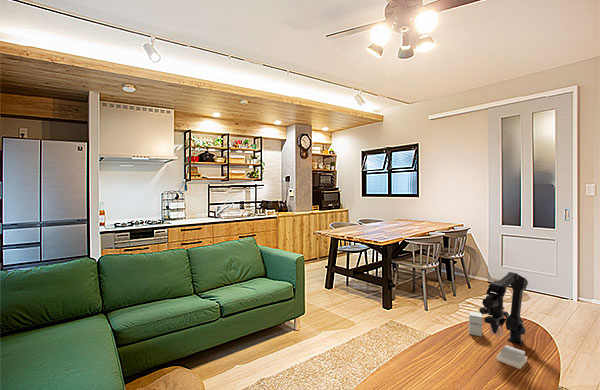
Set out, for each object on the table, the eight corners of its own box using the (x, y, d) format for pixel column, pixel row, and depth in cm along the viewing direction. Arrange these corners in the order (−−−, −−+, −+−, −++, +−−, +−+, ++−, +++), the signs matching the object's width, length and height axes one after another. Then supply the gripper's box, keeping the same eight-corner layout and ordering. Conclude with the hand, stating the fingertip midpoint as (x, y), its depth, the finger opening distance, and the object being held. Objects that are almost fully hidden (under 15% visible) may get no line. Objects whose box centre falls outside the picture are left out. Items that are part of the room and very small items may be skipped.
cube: (493, 331, 184) (493, 322, 184) (502, 334, 180) (503, 325, 180) (489, 333, 181) (489, 325, 181) (499, 337, 177) (499, 328, 177)
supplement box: (468, 334, 202) (469, 315, 201) (468, 329, 208) (468, 310, 208) (482, 337, 198) (482, 317, 198) (481, 332, 205) (481, 312, 204)
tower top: (506, 350, 178) (506, 345, 178) (525, 357, 171) (525, 351, 171) (500, 355, 172) (500, 350, 172) (519, 363, 165) (519, 357, 165)
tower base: (504, 354, 180) (504, 348, 180) (527, 362, 171) (527, 357, 171) (496, 360, 173) (496, 355, 173) (520, 370, 164) (520, 364, 164)
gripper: (488, 297, 192) (488, 322, 192) (474, 304, 181) (474, 331, 181) (509, 302, 183) (508, 329, 184) (496, 310, 172) (495, 338, 172)
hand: (496, 331), depth 180 cm, fingers closed on cube, 5 cm apart
